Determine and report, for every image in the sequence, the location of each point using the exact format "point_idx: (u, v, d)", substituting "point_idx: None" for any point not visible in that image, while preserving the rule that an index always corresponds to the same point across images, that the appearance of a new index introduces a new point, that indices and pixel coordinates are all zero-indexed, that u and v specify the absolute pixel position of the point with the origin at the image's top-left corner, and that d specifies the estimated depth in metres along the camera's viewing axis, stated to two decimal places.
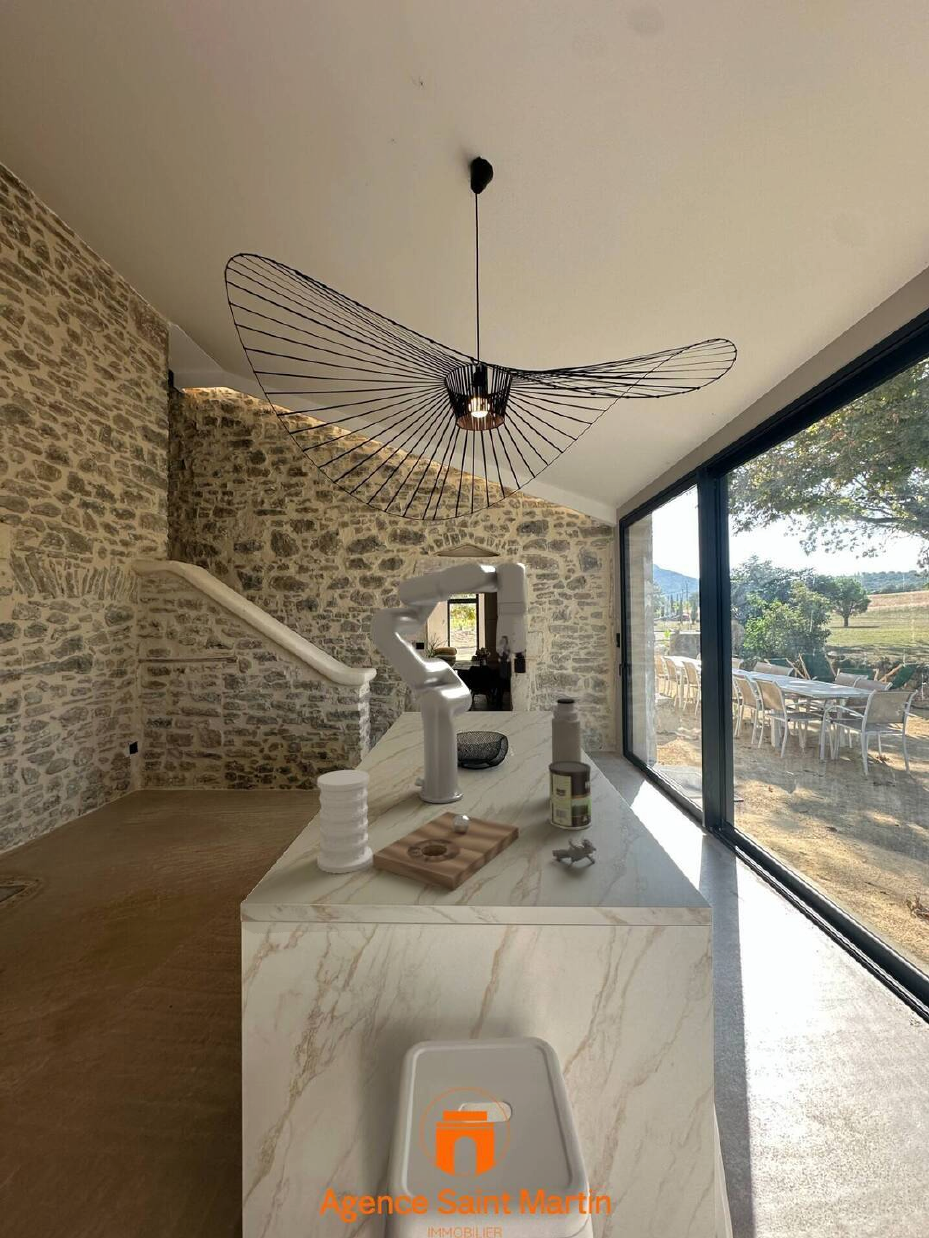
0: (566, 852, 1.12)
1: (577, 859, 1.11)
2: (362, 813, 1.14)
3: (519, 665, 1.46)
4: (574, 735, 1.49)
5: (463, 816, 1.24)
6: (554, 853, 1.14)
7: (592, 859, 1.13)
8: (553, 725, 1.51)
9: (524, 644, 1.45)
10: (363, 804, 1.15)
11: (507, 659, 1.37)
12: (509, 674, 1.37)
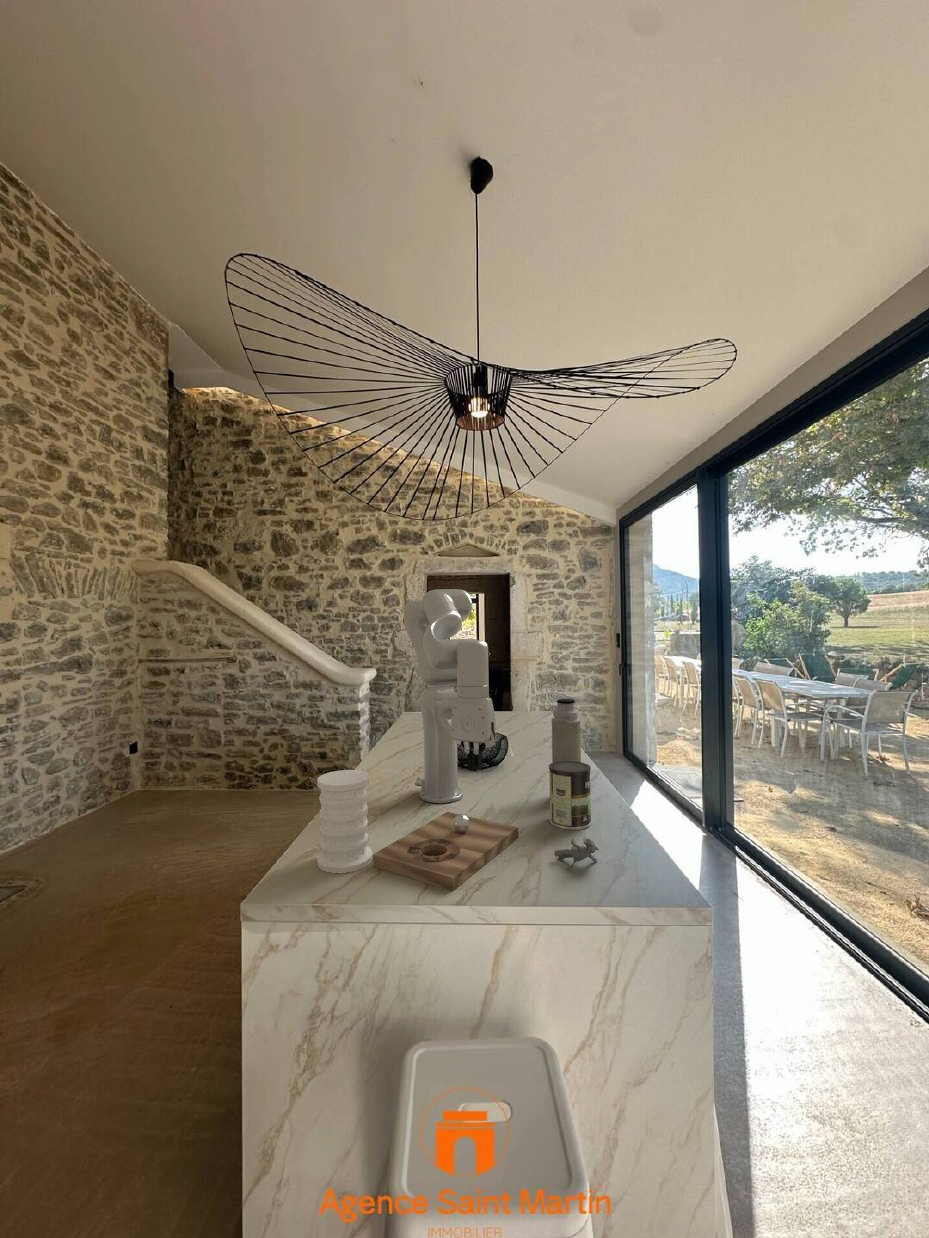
0: (568, 852, 1.12)
1: (580, 859, 1.11)
2: (362, 813, 1.14)
3: None
4: (574, 735, 1.49)
5: (463, 816, 1.24)
6: (556, 853, 1.14)
7: (594, 859, 1.13)
8: (553, 725, 1.51)
9: None
10: (363, 804, 1.15)
11: (482, 750, 1.29)
12: None
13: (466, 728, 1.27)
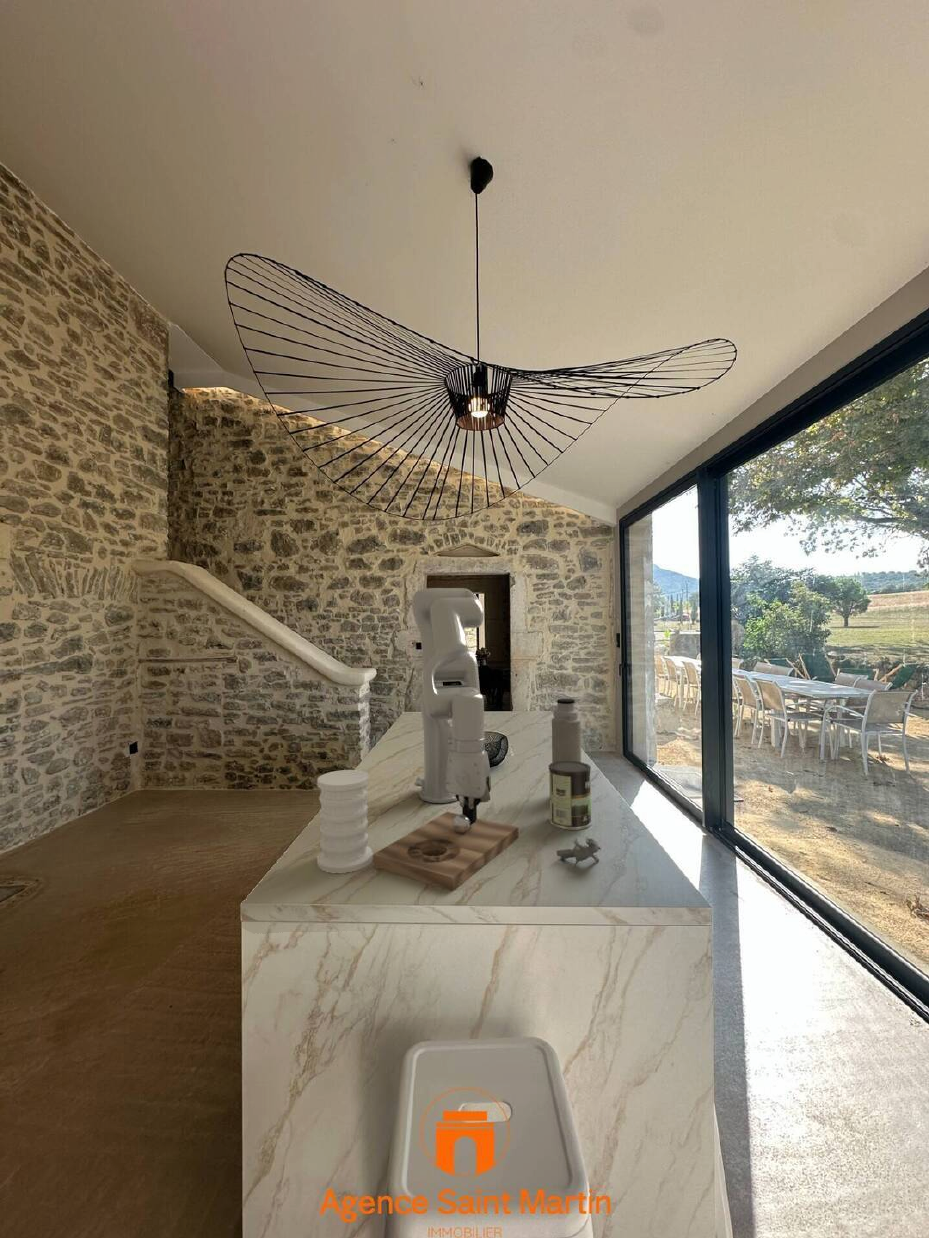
0: (571, 852, 1.13)
1: (582, 859, 1.11)
2: (362, 813, 1.14)
3: None
4: (574, 735, 1.49)
5: (463, 816, 1.23)
6: (558, 853, 1.14)
7: (596, 858, 1.13)
8: (553, 725, 1.51)
9: None
10: (363, 804, 1.15)
11: None
12: None
13: (461, 782, 1.25)
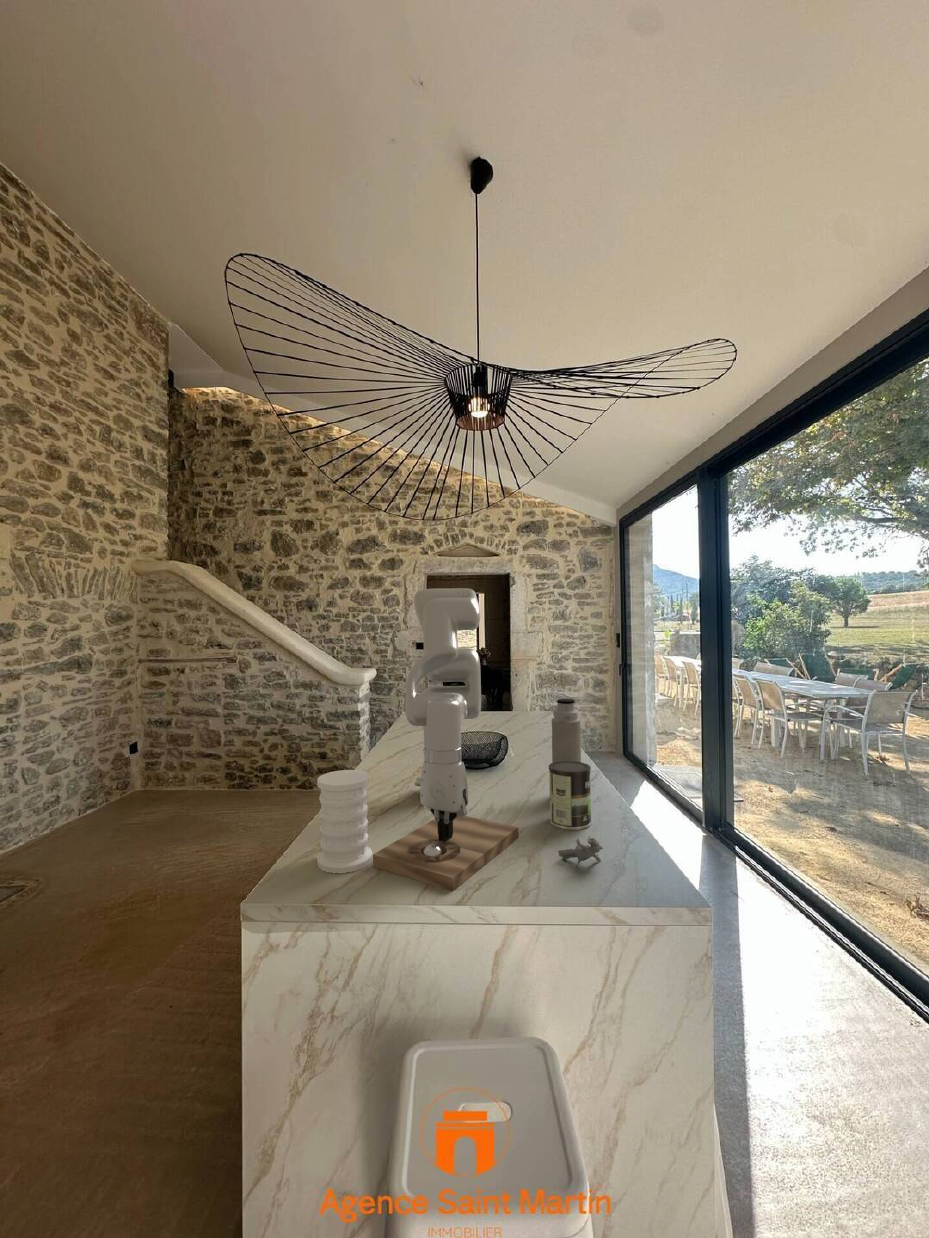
0: (573, 852, 1.13)
1: (584, 859, 1.11)
2: (362, 813, 1.14)
3: None
4: (574, 735, 1.49)
5: (438, 846, 1.14)
6: (560, 853, 1.14)
7: (598, 858, 1.14)
8: (553, 725, 1.51)
9: None
10: (363, 804, 1.15)
11: None
12: None
13: (436, 795, 1.16)
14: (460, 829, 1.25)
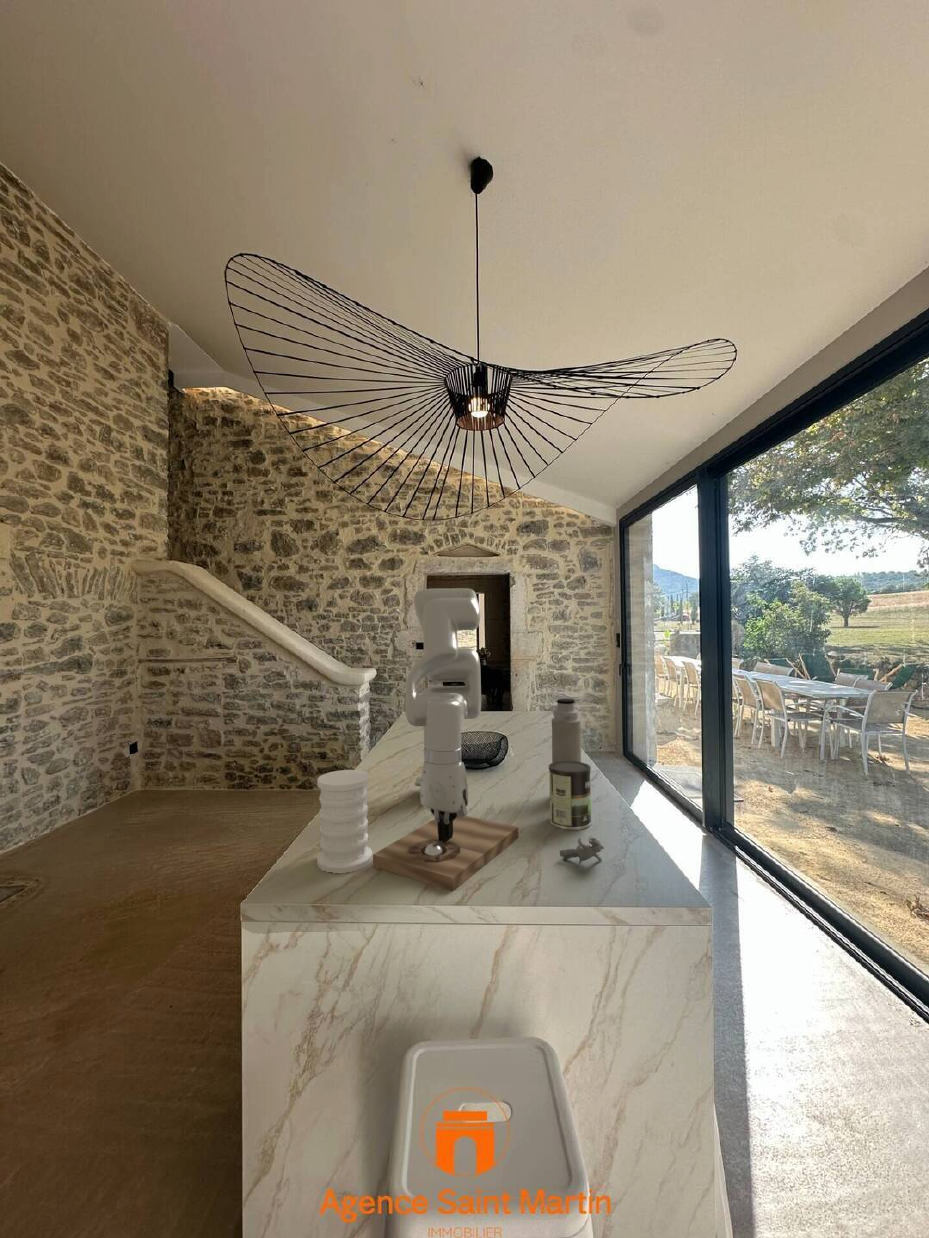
0: (574, 852, 1.13)
1: (586, 859, 1.12)
2: (362, 813, 1.14)
3: None
4: (574, 735, 1.49)
5: (439, 846, 1.15)
6: (561, 853, 1.14)
7: (599, 857, 1.14)
8: (553, 725, 1.51)
9: None
10: (363, 804, 1.15)
11: None
12: None
13: (436, 796, 1.16)
14: (460, 829, 1.25)
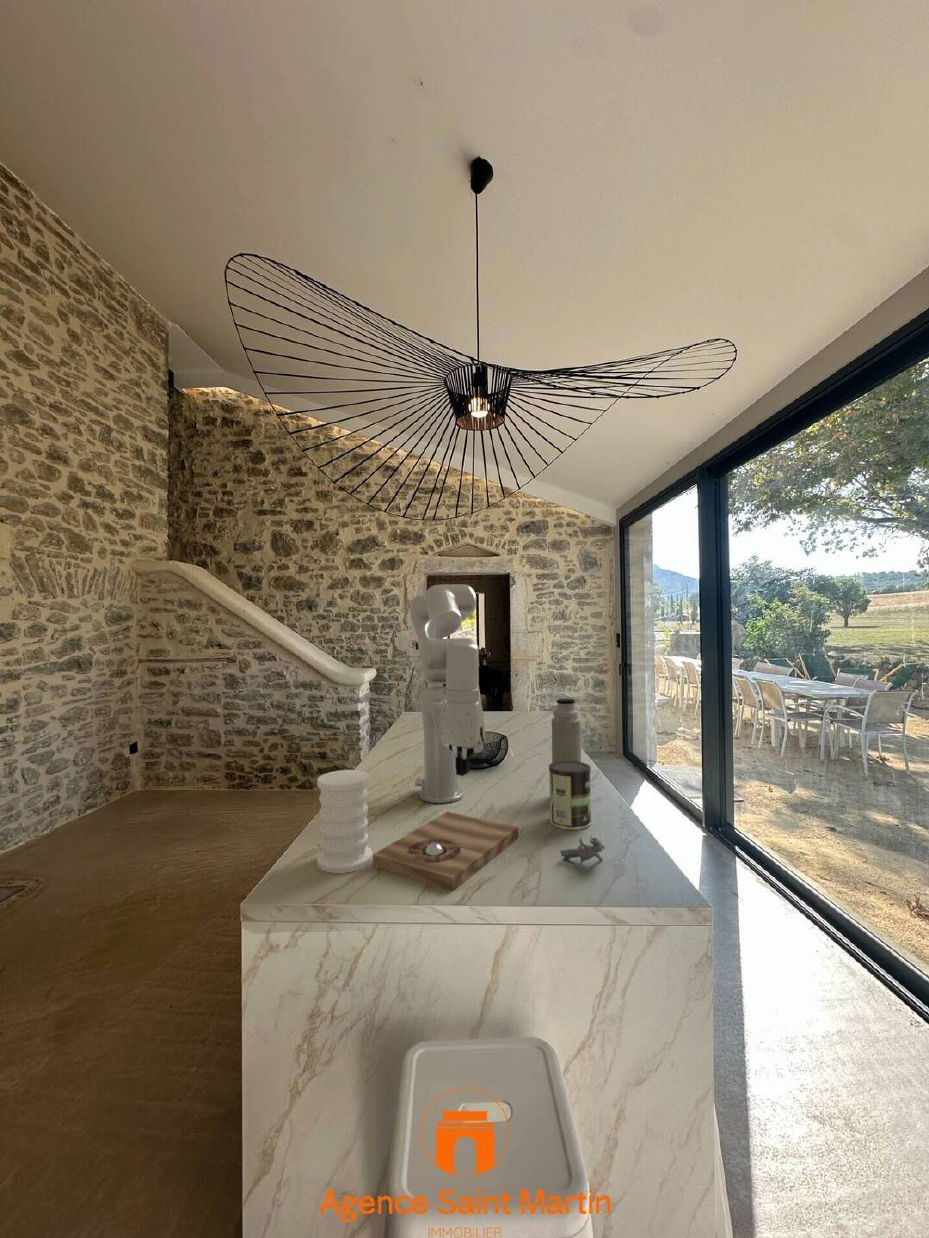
0: (575, 852, 1.13)
1: (587, 858, 1.12)
2: (362, 813, 1.14)
3: None
4: (574, 735, 1.49)
5: (441, 846, 1.15)
6: (562, 853, 1.14)
7: (600, 857, 1.14)
8: (553, 725, 1.51)
9: None
10: (363, 804, 1.15)
11: None
12: None
13: (454, 732, 1.23)
14: (460, 829, 1.25)
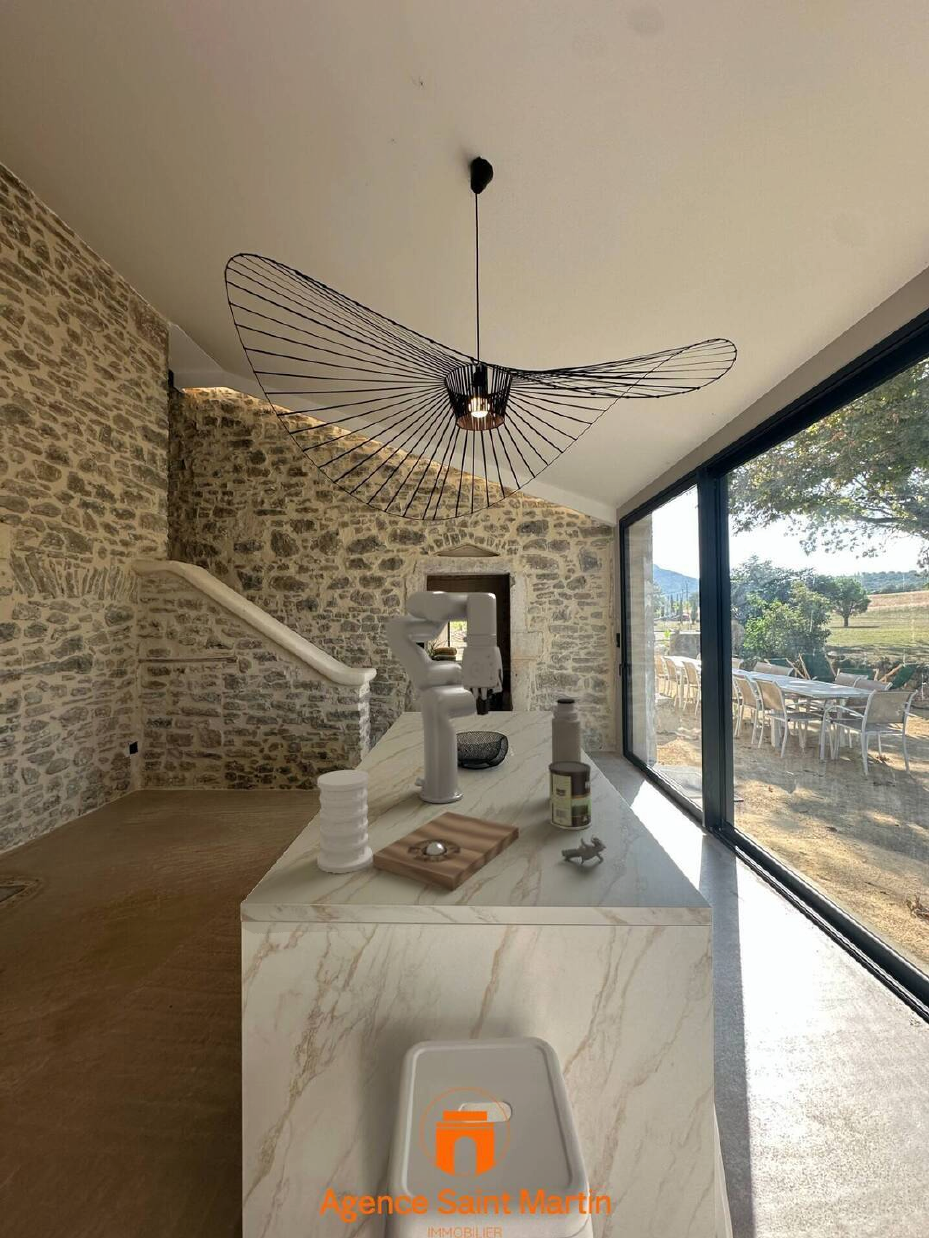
0: (576, 851, 1.13)
1: (588, 858, 1.12)
2: (362, 813, 1.14)
3: None
4: (574, 735, 1.49)
5: (442, 846, 1.16)
6: (564, 853, 1.14)
7: (601, 857, 1.14)
8: (553, 725, 1.51)
9: None
10: (363, 804, 1.15)
11: (490, 695, 1.37)
12: (487, 710, 1.37)
13: (475, 674, 1.35)
14: (460, 829, 1.25)
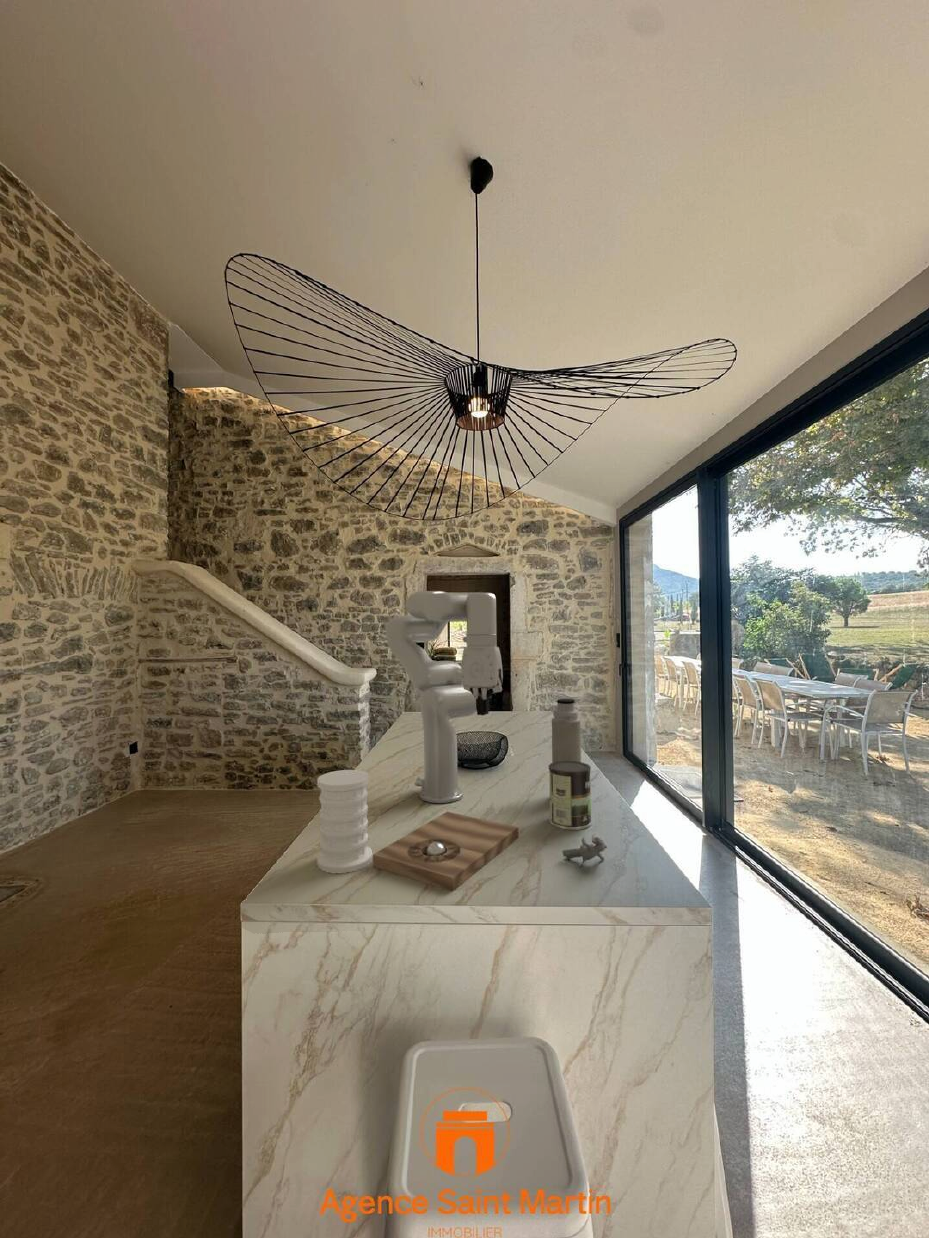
0: (577, 851, 1.13)
1: (589, 858, 1.12)
2: (362, 813, 1.14)
3: None
4: (574, 735, 1.49)
5: None
6: (564, 853, 1.14)
7: (602, 857, 1.14)
8: (553, 725, 1.51)
9: None
10: (363, 804, 1.15)
11: (490, 695, 1.37)
12: (487, 710, 1.37)
13: (475, 674, 1.35)
14: (460, 829, 1.25)
